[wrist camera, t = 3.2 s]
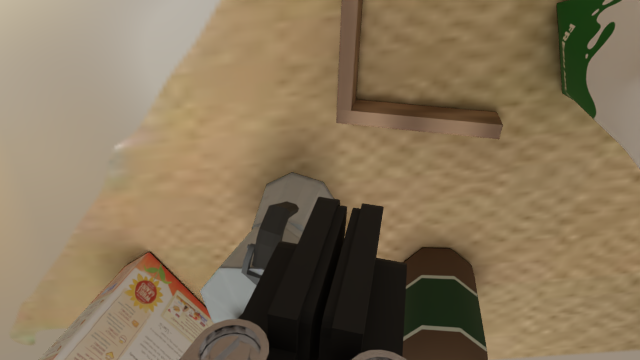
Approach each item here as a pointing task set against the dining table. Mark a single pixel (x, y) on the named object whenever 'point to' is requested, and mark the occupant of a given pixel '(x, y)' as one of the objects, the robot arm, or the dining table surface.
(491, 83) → the dining table surface
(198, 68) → the dining table surface
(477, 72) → the dining table surface
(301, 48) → the dining table surface
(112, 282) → the cracker box
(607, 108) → the soya milk
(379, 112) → the frame
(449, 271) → the beer bottle
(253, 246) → the coffee maker
